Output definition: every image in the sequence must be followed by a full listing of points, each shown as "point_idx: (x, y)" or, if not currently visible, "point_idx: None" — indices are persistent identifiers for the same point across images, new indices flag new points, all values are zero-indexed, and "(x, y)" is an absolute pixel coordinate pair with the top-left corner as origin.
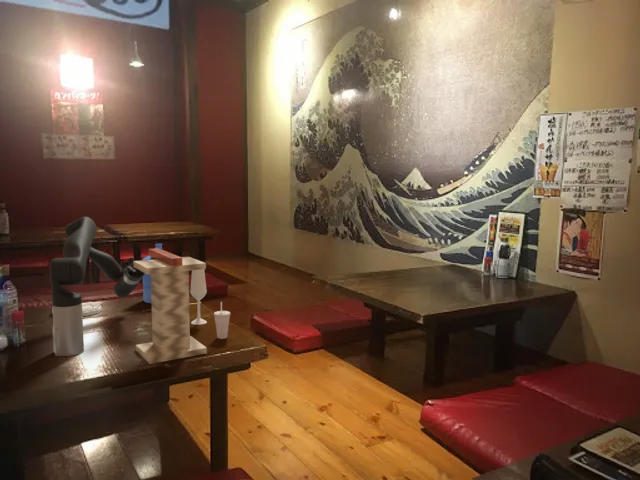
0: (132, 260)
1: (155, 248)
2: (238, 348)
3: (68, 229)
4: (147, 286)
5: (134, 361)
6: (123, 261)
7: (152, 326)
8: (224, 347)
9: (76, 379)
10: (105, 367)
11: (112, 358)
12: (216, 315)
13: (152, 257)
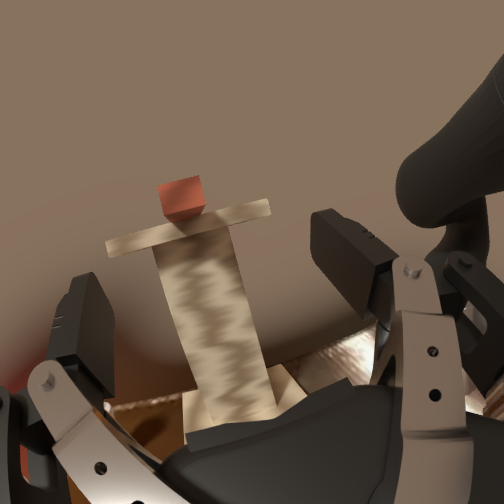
0: (315, 240)
1: (169, 183)
2: (133, 410)
3: None
4: None
5: (309, 376)
6: (450, 253)
7: (266, 370)
8: (148, 416)
9: (371, 330)
10: (349, 356)
11: (352, 380)
12: (110, 407)
13: (95, 294)
